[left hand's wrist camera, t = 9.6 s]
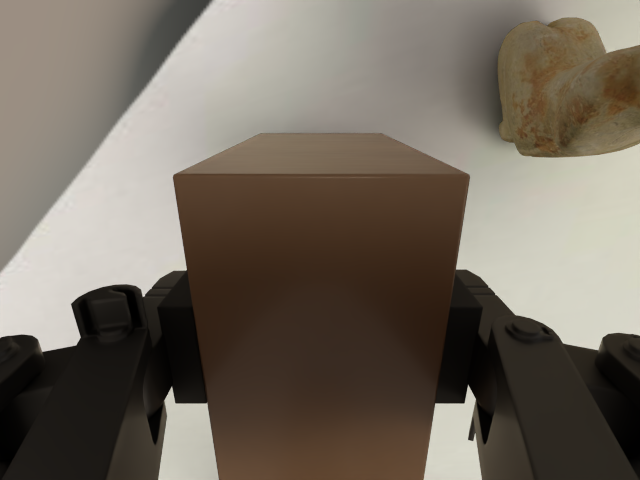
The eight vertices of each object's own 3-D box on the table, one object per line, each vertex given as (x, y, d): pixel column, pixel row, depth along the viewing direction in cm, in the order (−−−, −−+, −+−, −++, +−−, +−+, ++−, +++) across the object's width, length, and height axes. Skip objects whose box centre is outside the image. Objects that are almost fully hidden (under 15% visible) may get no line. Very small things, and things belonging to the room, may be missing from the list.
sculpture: (584, 19, 21) (1146, -161, 7) (563, 145, 23) (935, 208, 9) (483, 29, 21) (824, -128, 7) (474, 153, 23) (706, 225, 9)
